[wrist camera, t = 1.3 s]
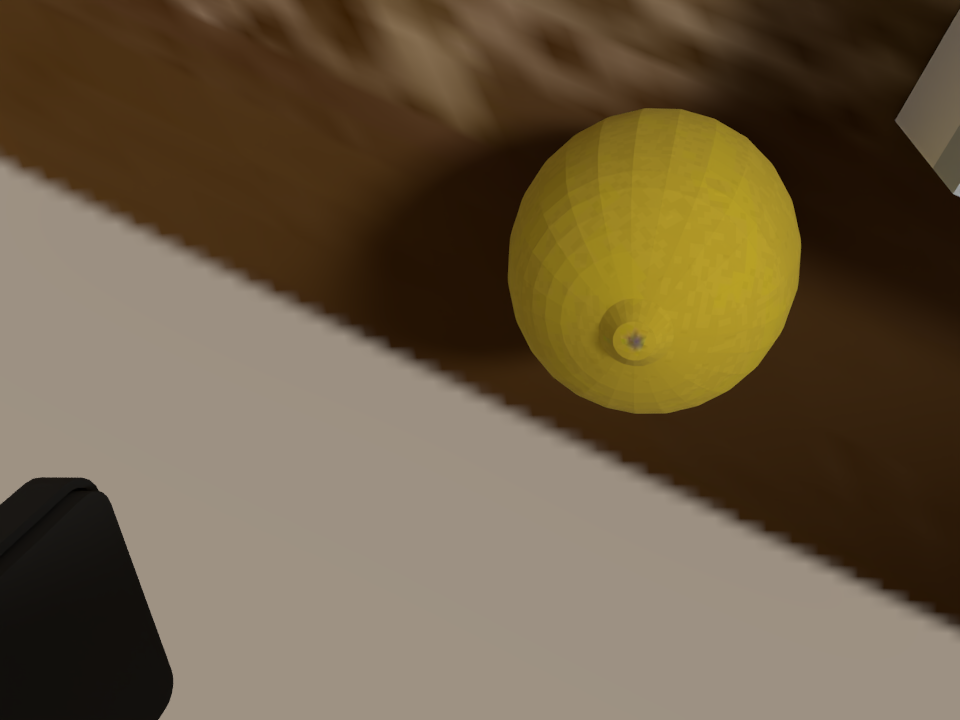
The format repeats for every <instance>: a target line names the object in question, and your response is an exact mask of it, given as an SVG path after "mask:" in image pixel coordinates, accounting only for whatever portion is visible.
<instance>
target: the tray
mask: <svg viewBox="0 0 960 720" xmlns="http://www.w3.org/2000/svg"><path fill="white" fill-rule="evenodd" d="M895 122H896V123H897V124H898V125H899V127H900V128H901V129H902V130H903V132H904V133H905V134H906V135H907V137H908V138H909V139H910V140H911V142H912V143H913V144H914V145H915V147H916V148H917V149H918V151H919V152H920V153H921V154H922V156H923V157H924V158H925V159H926V161H927V162H928V163H929V164H930V166H931V167H932V168H933V169H934V171H935V172H936V173H937V174H938V176H939V177H940V178H941V180H942V181H943V182H944V183H945V185H946V186H947V187H948V188H949V190H950V191H951V192H952V193H953V194H954V195H957V196H959V197H960V9H959V11H958V13H957V14H956V16H955V18H954V20H953V21H952V23H951V25H950V27H949V28H948V30H947V32H946V33H945V35H944V37H943V39H942V40H941V42H940V44H939V45H938V47H937V49H936V51H935V52H934V54H933V56H932V58H931V59H930V61H929V63H928V64H927V66H926V68H925V70H924V71H923V73H922V75H921V76H920V78H919V80H918V82H917V83H916V85H915V87H914V89H913V90H912V92H911V94H910V95H909V97H908V99H907V101H906V102H905V104H904V106H903V108H902V109H901V111H900V113H899V114H898V116H897V118H896V120H895Z"/></svg>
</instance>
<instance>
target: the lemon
mask: <svg viewBox="0 0 960 720" xmlns="http://www.w3.org/2000/svg"><path fill="white" fill-rule="evenodd" d="M800 255H801V238H800V233H799V229H798V224H797V220H796V215H795V211H794V206H793V202H792V200H791V197H790V195H789V194H788V192H787V190H786V188H785V186H784V184H783V182H782V180H781V179H780V177H779V175H778V173H777V171H776V169H775V167H774V166H773V165H772V163H771V162H770V161H769V160H768V159H767V158H766V157H765V156H764V155H763V154H762V153H761V152H760V151H759V150H758V149H757V148H756V147H755V146H754V144H753V143H752V142H751V141H750V140H749V139H748V138H747V137H745V136H743V135H742V134H740V133H738V132H736V131H735V130H733V129H731V128H730V127H728V126H726V125H725V124H723V123H721V122H719V121H718V120H716V119H714V118H710V117H707V116H703V115H700V114H696V113H693V112H689V111H686V110H682V109H654V108H644V109H640V110H636V111H632V112H628V113H623V114H619V115H615V116H611V117H608V118H606V119H604V120H602V121H600V122H598V123H596V124H594V125H593V126H591V127H589V128H587V129H585V130H583V131H581V132H579V133H577V134H576V135H574V136H573V137H572V138H571V139H570V140H569V141H568V142H566V143H565V144H564V145H563V146H562V147H561V148H560V149H559V150H558V151H556V152H555V153H554V154H553V155H552V156H551V157H550V158H549V159H548V160H547V161H546V162H545V163H544V165H543V166H542V168H541V169H540V171H539V172H538V174H537V175H536V177H535V178H534V180H533V182H532V183H531V185H530V186H529V188H528V189H527V191H526V192H525V194H524V196H523V198H522V201H521V204H520V207H519V210H518V213H517V217H516V220H515V223H514V226H513V229H512V232H511V236H510V246H509V264H508V285H509V290H510V295H511V299H512V304H513V309H514V313H515V317H516V321H517V323H518V325H519V327H520V329H521V331H522V333H523V335H524V337H525V339H526V341H527V343H528V345H529V347H530V349H531V351H532V352H533V354H534V355H535V356H536V358H537V359H538V360H539V361H540V362H541V364H542V365H543V366H544V367H545V368H546V369H547V371H548V372H549V373H550V374H551V375H552V377H554V378H555V379H556V380H558V381H559V382H560V383H562V384H563V385H564V386H566V387H567V388H568V389H570V390H571V391H572V392H574V393H575V394H576V395H578V396H581V397H583V398H585V399H587V400H590V401H592V402H594V403H596V404H599V405H601V406H603V407H606V408H611V409H616V410H620V411H625V412H630V413H635V414H649V413H670V412H674V411H679V410H683V409H687V408H691V407H695V406H699V405H701V404H703V403H705V402H707V401H709V400H711V399H713V398H715V397H717V396H719V395H721V394H723V393H725V392H727V391H728V390H730V389H731V388H732V387H734V386H735V385H736V384H737V383H738V382H740V381H741V380H742V379H743V378H744V377H745V376H747V375H748V374H749V373H750V372H751V371H753V370H754V369H755V368H756V367H757V366H758V365H759V363H760V362H761V361H762V359H763V358H764V356H765V355H766V353H767V352H768V351H769V349H770V348H771V346H772V345H773V343H774V342H775V341H776V339H777V338H778V336H779V335H780V333H781V331H782V329H783V327H784V325H785V322H786V319H787V316H788V314H789V311H790V308H791V305H792V303H793V300H794V297H795V294H796V291H797V288H798V282H799V269H800Z"/></svg>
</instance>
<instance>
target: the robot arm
mask: <svg viewBox="0 0 960 720" xmlns="http://www.w3.org/2000/svg"><path fill="white" fill-rule="evenodd" d="M172 689H173V675H172V670H171V667H170V665H169V662H168V659H167V656H166V654H165V651H164V648H163V645H162V643H161V640H160V637H159V634H158V632H157V629H156V626H155V623H154V621H153V618H152V616H151V613H150V610H149V607H148V604H147V601H146V599H145V596H144V593H143V590H142V588H141V585H140V582H139V579H138V577H137V574H136V571H135V568H134V566H133V563H132V560H131V558H130V555H129V552H128V550H127V546H126V544H125V541H124V538H123V535H122V533H121V530H120V527H119V525H118V522H117V519H116V516H115V514H114V511H113V508H112V505H111V503H110V501H109V499H108V497H107V496H106V495H105V494H104V493H102V492H99V491H98V489H97V487H96V485H94V484H93V483H92V482H91V481H90V480H87V479H85V478H43V477H42V478H35V479H32V480H30V481H29V482H27V483H25V484H24V485H23V486H22V487H21V488H19V489H18V490H17V491H16V492H15V493H14V494H12V495H11V496H10V497H9V498H8V499H7V500H5V501H4V502H3V503H2V504H1V505H0V720H158V719H159V718H160V716H161V714H162V713H163V712H164V710H165V708H166V707H167V705H168V703H169V700H170V697H171V694H172Z"/></svg>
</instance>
